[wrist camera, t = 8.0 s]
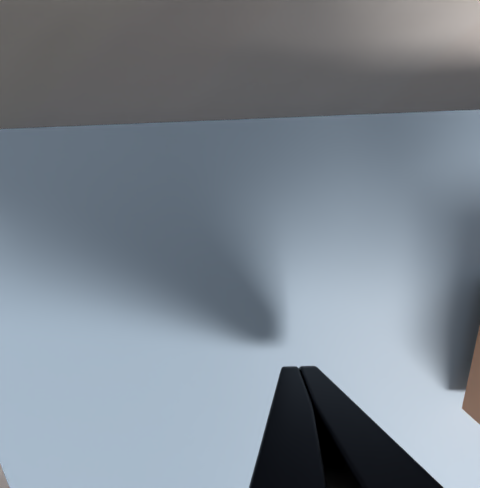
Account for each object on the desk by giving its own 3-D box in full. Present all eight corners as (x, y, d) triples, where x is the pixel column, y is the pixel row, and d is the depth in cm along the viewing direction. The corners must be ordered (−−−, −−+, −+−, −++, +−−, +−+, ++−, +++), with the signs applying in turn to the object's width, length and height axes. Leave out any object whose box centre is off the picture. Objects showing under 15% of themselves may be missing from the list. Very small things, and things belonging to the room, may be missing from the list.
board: (446, 437, 12) (486, 493, 10) (53, 450, 12) (17, 507, 10) (520, 115, 8) (607, 104, 6) (-44, 138, 8) (-129, 134, 6)
